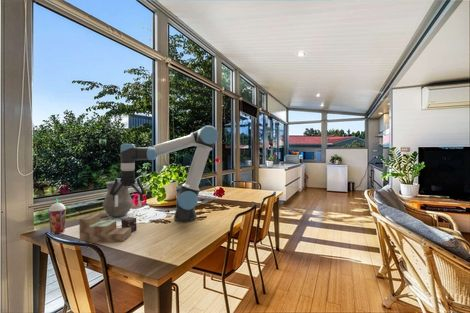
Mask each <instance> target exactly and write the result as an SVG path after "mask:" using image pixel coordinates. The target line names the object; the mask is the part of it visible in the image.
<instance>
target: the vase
mask: <svg viewBox="0 0 470 313" xmlns="http://www.w3.org/2000/svg"><path fill="white" fill-rule="evenodd" d="M114 183H115V180H112V181H106V182H105V185H106V188H107V193H106V196H105V198H104V200H103V202H102V209H103V210H104V211H105V213H106V214H107V215H109V216H110V217H112V218H120V217H124V216H126V215H127V214H128V213H129V212H130V211H131V209H132V207H133V204H134V203H133V202H132V201H133V198H132V197H131V194H130V190H129V187H130V186H123V187H122V189H121V190H120V191H119V192H118V193H117V195H118V206H117V207H115V201H113V195H110V191H111V189H112V187H113V185H114ZM120 185H121V181H120V182H119V183H118V185H117V187H116V189H115V191H116V190H117V189H118V187H119V186H120ZM115 191H114V192H115Z"/></svg>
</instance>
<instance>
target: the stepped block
mask: <svg viewBox="0 0 470 313" xmlns="http://www.w3.org/2000/svg"><path fill="white" fill-rule="evenodd" d="M78 223H79V225H78V226H79V229H78V230H79V242H80V241H84V242H86V243H117V242H118V243H120V242H124V241H126V240H127V239H128V238H129V237H131V236H132V232H131V228H122V227H117V220H101V214H100V213H95V214H93V213H91V214H88V215H86V216H84V217H82V218H80V219H79V221H78Z"/></svg>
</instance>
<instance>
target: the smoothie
mask: <svg viewBox="0 0 470 313" xmlns="http://www.w3.org/2000/svg"><path fill="white" fill-rule="evenodd" d="M66 212H67V207H66V206H65V205H64V204H63V203H61V202H59V199H58V198H57V197H56V201H55V203H53V204H52V205H51V206H49V209H48V218H49V219H48V220H49V229H50V230H49V231H50V232H51V233H52V232H54V233H58V234H61V233H60V232H62V233H64V232H65V229H66V218H67V216H66V215H67V213H66ZM63 231H64V232H63Z"/></svg>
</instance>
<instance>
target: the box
mask: <svg viewBox="0 0 470 313" xmlns="http://www.w3.org/2000/svg"><path fill="white" fill-rule="evenodd" d="M137 225H138V224H137V218H136V217H134V216H133V217H132V216H128V217H125V218H121V228H131V233H132V232H135V231H137V230H138V229H137V228H138V226H137Z"/></svg>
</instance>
